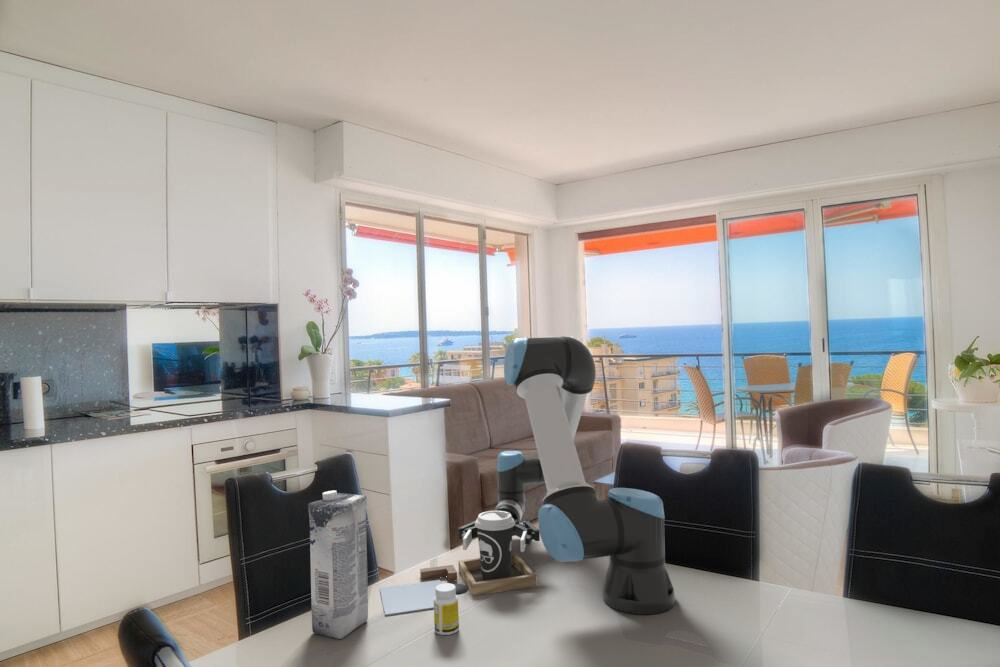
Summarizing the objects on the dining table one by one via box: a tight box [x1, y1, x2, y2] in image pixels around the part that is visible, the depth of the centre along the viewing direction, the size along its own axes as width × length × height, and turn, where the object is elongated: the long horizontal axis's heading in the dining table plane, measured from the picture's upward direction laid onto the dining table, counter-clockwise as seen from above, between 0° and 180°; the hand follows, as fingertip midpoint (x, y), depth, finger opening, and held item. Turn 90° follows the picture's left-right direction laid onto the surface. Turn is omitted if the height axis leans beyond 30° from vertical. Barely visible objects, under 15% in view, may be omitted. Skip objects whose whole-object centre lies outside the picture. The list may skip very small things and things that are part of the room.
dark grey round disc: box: [454, 583, 469, 595], centre depth 137 cm, size 5×5×1 cm
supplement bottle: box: [433, 582, 460, 636], centre depth 118 cm, size 5×5×8 cm
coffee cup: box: [475, 510, 515, 581], centre depth 142 cm, size 10×10×15 cm
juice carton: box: [307, 490, 369, 640], centre depth 120 cm, size 9×10×27 cm
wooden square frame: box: [458, 553, 537, 597], centre depth 142 cm, size 15×15×2 cm
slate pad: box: [379, 579, 443, 617], centre depth 133 cm, size 14×14×1 cm
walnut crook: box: [419, 564, 458, 582], centre depth 143 cm, size 5×8×2 cm, turn 105°
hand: (493, 545), depth 139 cm, fingers open, 13 cm apart
